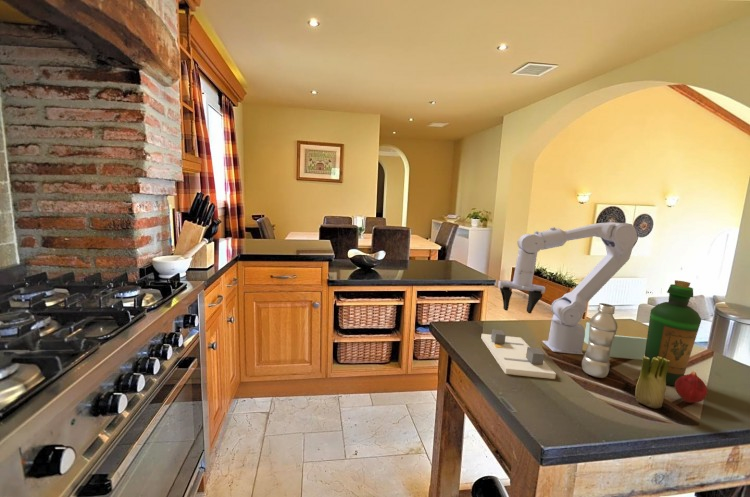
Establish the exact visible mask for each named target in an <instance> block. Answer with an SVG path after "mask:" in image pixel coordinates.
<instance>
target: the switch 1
mask: <svg viewBox="0 0 750 497" xmlns="http://www.w3.org/2000/svg"><path fill="white" fill-rule="evenodd" d="M490 335H491V339H492V340H493V342H494V343H497V344H505V337H506V336H507V335H506V333H505V332H503V330H502V329H493V328H492V329H491V333H490Z"/></svg>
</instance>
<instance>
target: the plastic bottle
mask: <svg viewBox="0 0 750 497" xmlns="http://www.w3.org/2000/svg"><path fill="white" fill-rule="evenodd" d="M615 309H616V307H615V305H612V304H608V303H599V304H598V308H597V311H598V312H597V313H595V314H594V315H593V316H592V317H591V318H590V320H589V322H590V327H589V341H588V344H587V347H586V350H585V353H584V354H583V358H582V360H581V368H582V371H583V372H584V373H585V374H586V375H590V376H592V377H593V378H601V379H603V378H606V377H607V376H608V374H609V371H610V358H611V357H610V350H611V346H612V342H613V339H614V336H615V335H616V334H617V331H618V328H619V327H618V323H617V320H616V319H615V317H614V314H615Z"/></svg>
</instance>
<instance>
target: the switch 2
mask: <svg viewBox="0 0 750 497" xmlns="http://www.w3.org/2000/svg"><path fill="white" fill-rule="evenodd" d="M526 358H527V359H528V360H529V361H530V362H531V363H532V364H540V365H543V361H544V360H545V353H544V352H543V351H541V349H540V348H538V347H531V346H529V347H527V353H526Z"/></svg>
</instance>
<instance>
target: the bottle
mask: <svg viewBox="0 0 750 497" xmlns="http://www.w3.org/2000/svg"><path fill="white" fill-rule="evenodd" d="M666 293H667V294H668V301H663V302H661V303H658V304H656V305H655V306H654V307H652V308H651V309H650V314H649V320H648V328H647V329H648V330H647V335H646V336H647V337H646V339H647V342H646V349H645V354H644V357H648V358H649V359H650V361H649V367H650V364H651V361H652V358H654V357H655V358H657V356H658V357H662V358H664V359H667V360H670V364H669V367H668V370H667V374H666V385H669V386H675V382H676V380H677V379H678V378H679V377H681V376H683V375H686V374H685V373H686V370H687V367H688V364H689V361H690V357H691V355H692V350H693V348H694V345H695V342H696V338H697V335H698V332H699V328H700V325H701V323H702V318H701V316H700V314H699V312H697V311H696V310H695V309H694V308H693V307H691V306H690V305H689V303H690V301H691V300H690V299H691V298H694V288H693V287H691V282H689V281H684V280H674V284H672V283H671V284H670V285H669V287H668V290H666ZM688 305H689V306H688Z"/></svg>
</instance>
